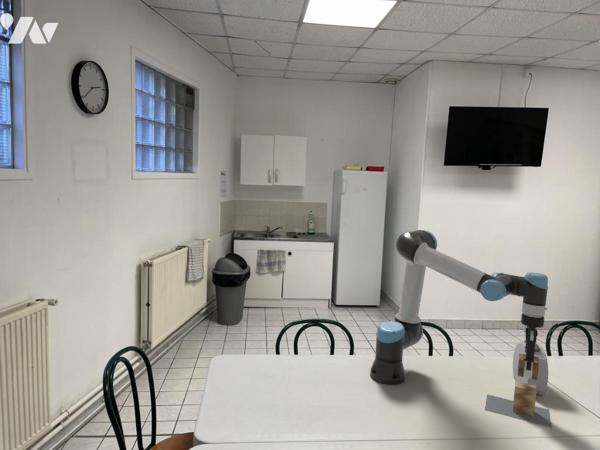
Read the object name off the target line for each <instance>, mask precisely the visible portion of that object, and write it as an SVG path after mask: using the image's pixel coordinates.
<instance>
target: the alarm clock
mask: <svg viewBox="0 0 600 450" xmlns="http://www.w3.org/2000/svg"><path fill="white" fill-rule="evenodd" d="M525 346H526V339H525V340H524V342H523V341H520V342H517V343H516V344H515V347H514V351H513V357H512V374H513V379H514V381H516V382H521V383H525V384H529V385H534V386H536V395H539V396H540V395H541V396H543V395H544V394H545V393H546V390H547V388H548V383H549V364H548V363H549V362H548V359H547V354H546V352H545V349H544V348H543V346H542V344H539V343H537V342H536V343H535V351H534V352H535V354H534V356H535V357H538V358H539V370H538V380H534V379H530V378H525V377H520V376H518V361H519V353H520V354H525Z"/></svg>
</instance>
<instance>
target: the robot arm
mask: <svg viewBox="0 0 600 450" xmlns="http://www.w3.org/2000/svg"><path fill="white" fill-rule="evenodd" d="M395 242H396V243H395V247H396V248H395V249H396V251H397V253H398V255H400V256H401V258H403V260H404V261H405V263H406V266H405V272H404V276H403V277H404V278H403V282H402V283H403V284H402V291H401V298H400V304H399V312H397V313H396V314H395V315H394V320H392V321H391V320H389V321H383V322H381V323H379V324H378V325H377V329H376V339H375V340H376V341H375V357H374V360H373V363H372V365H371V367H370V372H369V375H370V377H371V379H372V380H374V381H375V382H378V383H381V384H385V385H400V384H402V383H404V382H405V381H406V371H405V367H404V363H403V356H404V355H403V354H404V350H405V349H408V348H410V347H411V346H414V345H416V344H418V343H419V342H420V341H421V340H422V338H423V336H424V335H423V334H424V328H423V326H422V323H421V322H422V319H421V318H420V316H419V313H420V307H421V301H422V294H423V288H424V281H425V276H426V275H425V274H426V269H427V268H429V269H431V270H432V271H435V272H437V273H439V274H441V275H443V276H445V277H447V278H449V279H451V280H453V281H455V282H458V283H459V284H461V285H464V286H466V287H467V288H469V289H471V290H474V291H476V292H478V293H480V294H481V296H482V297H483V298H484V299H485V300H486V301H489V302H497V301H500V300H502V299H504V298H505V297H507V296H510V295H511V296H515V297H517V296H518V297H521V298H523V299H522V305H521V312H522V313H521V317H520V323H521V325H524V326H525V328H524V329H525V330H524V332H525V334H524V335H525V336H524V337H525V340H526V346H525V355H526V358H525V359H523V360H524V361H525V365H524V375H523V377H525V378H530V379H532V370H533V362H534V354H535V352H534V351H535V343H537V337H538V335H539V334H538V333H539V332H538V329H537V328H543V327H544V326H545V316H546V315H545V314H546V311H547V310H548V307H546V305H547V296H548V289H549V286H548V285H549V284H548V283H549V277H548V276H547V275H546V274H544V273H539V272H532V271H529V272H526V273H525V276H519V275H516V274H515V275H514V274H509V273H504V272H493V273H492V274H489V273H487V272H485V271H482V270H480V269H477V268H475V267H474V266H471V265H469V264H467V263H464V262H462V261H460V260H458V259H457V258H453V257H452V256H450V255H447V254H445V253H442V252H441V251H439V250H437V248H438V240H437V238H436V236H435V235H434V234H433V233H432V232H431V231H429V230H425V229H417V230H410V231H405V232H403V233H401V234H400V235H399V236H398V237H397V240H396V241H395Z"/></svg>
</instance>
